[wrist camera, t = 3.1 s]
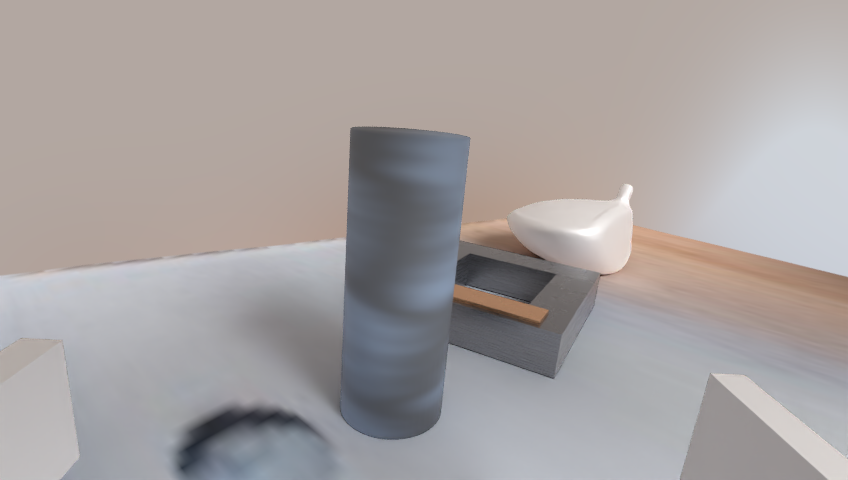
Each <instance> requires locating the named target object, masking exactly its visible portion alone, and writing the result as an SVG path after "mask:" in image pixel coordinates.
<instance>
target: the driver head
mask: <svg viewBox="0 0 848 480" xmlns="http://www.w3.org/2000/svg"><path fill="white" fill-rule="evenodd" d="M632 192H633V187H632V186H631V185H628V184H623V185H621V187H620V190H619V193H618V195H617V197H616V198H615V199H613V200H611V201H602V200H601V201H600V200H585V199H559V200H549V201H542V202H537V203H533V204H530V205H527V206H524V207H522V208H519V209H515V210H514V211H512V212H511V213H510V214H509V215H508V216H507V221H508V225H509V227H510V229H511V231H512V233H513V234H514V235H515V237H516V238H517V239H518V240H519V241H520V242H521V243H522V244H523V245H524V246H525V247H526V248H527V249H528V250H530V251H531V252H533V253H534V254H536V255H538V256H540V257H541V258H543V259H545V260H548V261H551V262H555V263H560V264H564V265H568V266H573V267H577V268H581V269H586V270H590V271H595V272H599V273H600V274H612V273H615V272H617V271H619V270H620V269H622V268H623V267H624V265H625V264H626V263H627V261H628V259H629V257H630V253H631V239H632V228H633V223H632V222H633V211H632V209H631V208H630V205H629V199H630V197H631V195H632Z"/></svg>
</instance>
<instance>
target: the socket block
mask: <svg viewBox="0 0 848 480" xmlns="http://www.w3.org/2000/svg"><path fill="white" fill-rule="evenodd" d="M599 278H600V273H599V272H595V271H590V270H586V269H581V268H577V267H573V266H568V265H564V264H560V263H555V262H551V261H547V260H542V259H538V258H533V257H529V256H525V255H520V254H516V253H512V252H507V251H503V250H498V249H494V248H490V247H485V246H481V245H477V244H472V243H468V242H464V241H459V248H458V257H457V266H456V276H455V285H454V294H453V304H452V313H451V322H450V332H449V341H448V343H451V344H454V345H457V346H460V347H463V348H466V349H469V350H472V351H475V352H478V353H480V354H483V355H486V356H489V357H492V358H495V359H498V360H501V361H504V362H507V363H510V364H513V365H516V366H519V367H522V368H525V369H528V370H531V371H534V372H537V373H540V374H542V375H545V376H548V377H551V378H554V377H555V376H556V374H557V372H558V370H559V368H560V366H561V365H562V363H563V361H564V359H565V357H566V356H567V354H568V352H569V350H570V348H571V346H572V345H573V343H574V341H575V339H576V337H577V336H578V334H579V332H580V330H581V328H582V326H583V325H584V323H585V321H586V319H587V317H588V316H589V314H590V312H591V310H592V308H593V306H594V304H595V298H596V293H597V288H598V283H599ZM466 284H467V285H470V286H474V287H478V288H481V289H485V290H489V291H492V292H496V293H500V294H503V295H507V296H511V297H514V298H518V299H522V300H525V301H529V302H531V303H530V304H525V303H522V302H518V301H515V300H511V299H507V298H504V297H500V296H496V295H493V294H489V293H486V292H482V291H478V290H475V289H471V288H467V287H464V286H465V285H466Z"/></svg>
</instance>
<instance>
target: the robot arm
mask: <svg viewBox="0 0 848 480" xmlns="http://www.w3.org/2000/svg"><path fill="white" fill-rule="evenodd" d="M79 458H80V453H79V447H78V440H77V433H76V427H75V420H74V413H73V407H72V400H71V393H70V387H69V380H68V373H67V367H66V360H65V353H64V347H63V340H49V339H29V338H21V339H19V340H17V341H16V342H14V343H13V344H11V345H9V346H8V347H6V348H5V349H3V350H1V351H0V480H60V479H61V478H62V477H63V476H64V475H65V474H66V473H67V471H68V470H69V469H70V468H71V467H72V466H73V465H74V464H75V463H76V461H77V460H78V459H79ZM680 480H848V459H847V458H846V457H845V456H843V455H842V454H841V453H840V452H839V451H837V450H836V449H835V448H834V447H832V446H831V445H830V444H829V443H828V442H826V441H825V440H824V439H823V438H821V437H820V436H819V435H818V434H817V433H815V432H814V431H813V430H812V429H810V428H809V427H808V426H807V425H805V424H804V423H803V422H802V421H801V420H799V419H798V418H797V417H796V416H794V415H793V414H792V413H791V412H790V411H788V410H787V409H786V408H785V407H783V406H782V405H781V404H780V403H779V402H777V401H776V400H775V399H774V398H772V397H771V396H770V395H769V394H767V393H766V392H765V391H764V390H763V389H761V388H760V387H759V386H758V385H756V384H755V383H754V382H753V381H752V380H750V379H749V378H748V377H747V376H745V375H734V374H715V373H710V376H709V379H708V383H707V386H706V390H705V393H704V397H703V400H702V404H701V407H700V411H699V414H698V418H697V421H696V425H695V428H694V432H693V435H692V438H691V442H690V445H689V449H688V452H687V456H686V459H685V463H684V466H683V470H682V473H681V477H680Z"/></svg>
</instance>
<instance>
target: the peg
mask: <svg viewBox="0 0 848 480" xmlns="http://www.w3.org/2000/svg"><path fill="white" fill-rule="evenodd" d="M469 146H470V137H467V136H463V135H458V134H452V133H444V132H437V131H427V130H417V129H405V128H390V127H352V128H351V131H350V159H349V186H348V213H347V239H346V266H345V293H344V320H343V347H342V374H341V401H340V409H341V413H342V416H343V418H344V419H345V421H346V422H347V423H348V424H349V425H350V426H351V427H353V428H354V429H356V430H357V431H359V432H361V433H363V434H366V435H368V436H372V437H375V438H381V439H405V438H410V437H414V436H417V435H420V434H422V433H424V432H426V431H427V430H429V429H430V428H432V427H433V426H434V425H435V424H436V422H437V421H438V419H439V417H440V413H441V406H442V397H443V387H444V378H445V369H446V359H447V350H448V341H449V332H450V322H451V313H452V304H453V294H454V285H455V276H456V266H457V257H458V248H459V239H460V229H461V220H462V210H463V201H464V191H465V182H466V173H467V164H468V155H469Z"/></svg>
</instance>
